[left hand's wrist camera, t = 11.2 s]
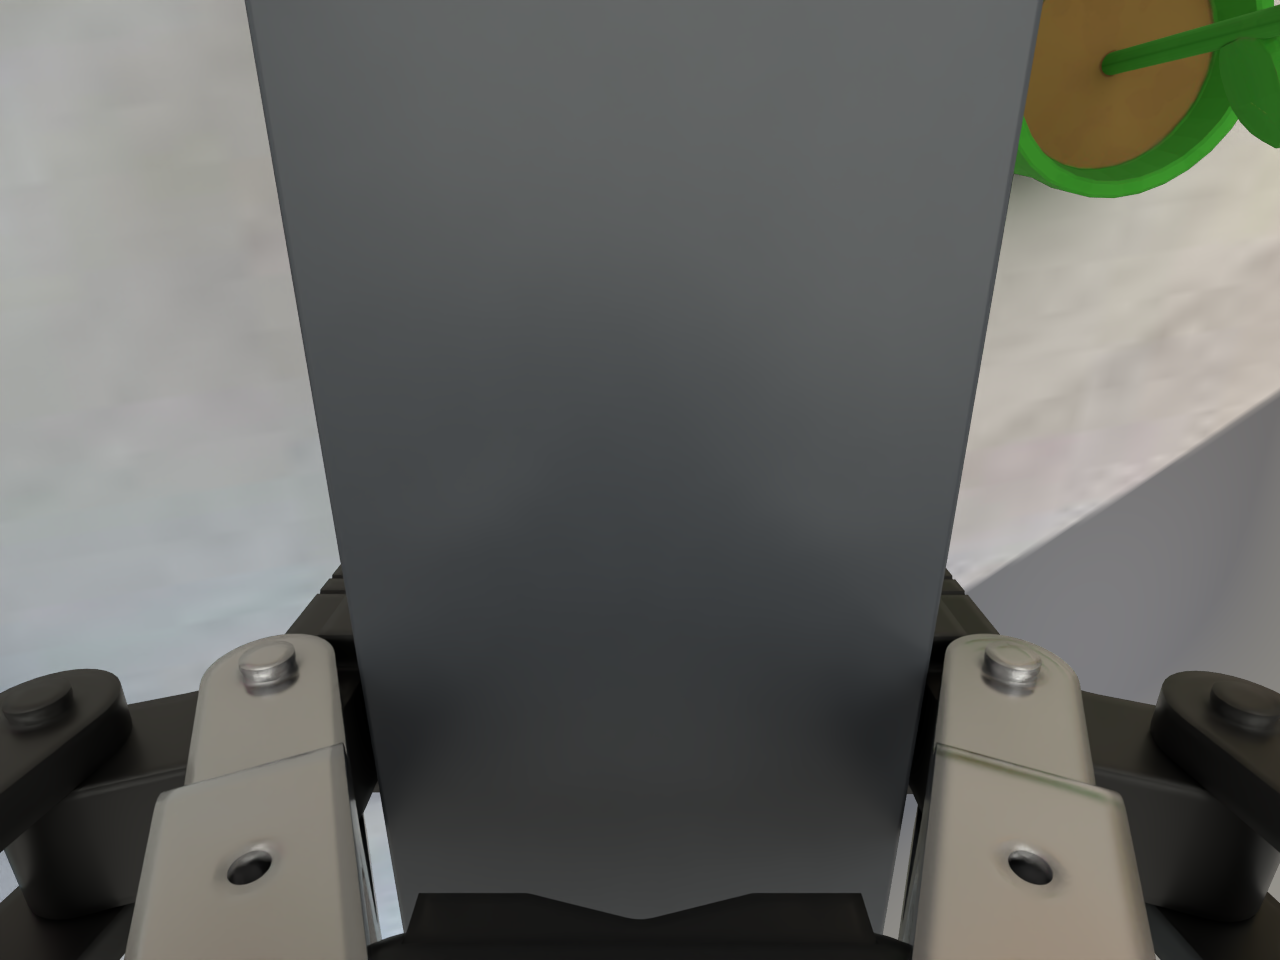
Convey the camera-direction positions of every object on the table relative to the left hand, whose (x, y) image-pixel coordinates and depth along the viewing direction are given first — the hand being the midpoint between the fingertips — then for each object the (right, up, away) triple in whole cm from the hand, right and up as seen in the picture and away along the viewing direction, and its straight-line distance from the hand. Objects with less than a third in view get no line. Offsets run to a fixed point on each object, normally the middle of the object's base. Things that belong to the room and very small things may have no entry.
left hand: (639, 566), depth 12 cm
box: (0, +11, +2) cm, 11 cm away
